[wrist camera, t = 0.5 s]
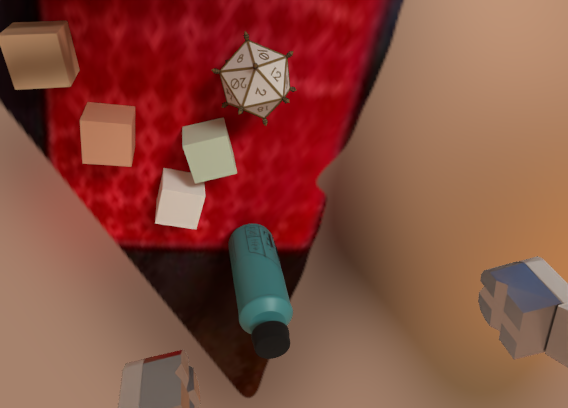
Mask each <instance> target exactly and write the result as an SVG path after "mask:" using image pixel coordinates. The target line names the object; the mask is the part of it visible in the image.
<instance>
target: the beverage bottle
mask: <svg viewBox="0 0 568 408" xmlns="http://www.w3.org/2000/svg"><path fill="white" fill-rule="evenodd" d="M229 239H230V240H229V243H228V244H229V245H228V246H229V247H228V248H229V252H228V253H229V255H230V258H229V261H230V260H231V263H230V264H231V265H230V268H232V270H231V271H232V273H231V274H233V279H232V280H233V282H234V287H235V289H234V290H235V292H236V299H237V306H238V312H239V323H240V325H241V327H242V328H243V329H244V330H245V331H246V332H248V333H250V334H251V338H252V342H253V345H254V349H255V352H256V354H257V355H258V356H260V357H262V358H267V359H271V358H276V357H279V356H281V355H283V354H284V353H286V352H287V350H288V349H289V347H290V339H289V330H288V327H287V325H288V324H289V322H290V321H291V318H292V315H293V310H292V307H291V304H290V301H289V297H288V293H287V290H286V286H285V284H286V283H285V281H284V277H283V274H282V270H281V266H280V265H281V264H280V263H279V261H280V260H279V257H278V256H277V255H278V251H277V252H276V250H277V247H276V248H275V245H276V244H275V245H274V242H275V241H273V237H272V234H271V233H270V232H269V230H268V229H267V228H265V227H264V226H262V225H259V224H247V225H243V226H241V227H239V228H237V229H236V230H235V231H234V232H233V233H232V235H231V237H230V238H229Z"/></svg>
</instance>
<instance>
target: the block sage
mask: <svg viewBox="0 0 568 408" xmlns="http://www.w3.org/2000/svg"><path fill="white" fill-rule="evenodd" d="M182 147H183V150H184V152H185V155H186V158H187V161H188V164H189V167H190V170H191V173H192V176H193V179H194V182H195V184H196V183H200V182H204V181H208V180H212V179H216V178H220V177H225V176H229V175H233V174H237V169H236V164H235V159H234V154H233V150H232V146H231V143H230V139H229V135H228V131H227V128H226V124H225V120H224V117H223V118H218V119H214V120H210V121H206V122H201V123H197V124H193V125H189V126H184V127H182Z"/></svg>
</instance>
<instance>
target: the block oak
mask: <svg viewBox="0 0 568 408" xmlns="http://www.w3.org/2000/svg"><path fill="white" fill-rule="evenodd" d="M0 46H1V49H2V52H3V55H4V58H5V61H6V64H7V67H8V70H9V73H10V76H11V79H12V82H13V85H14V88H15V90H22V89H40V88H58V87H71V85H72V83H73V82H74V80H75V78H76V76H77V74H78V73H79V71H80V69H79V65H78V61H77V57H76V53H75V49H74V45H73V41H72V37H71V33H70V29H69V25H68V21H40V22H13V23H12V24H11V25H10V26H8V27H7V28H6V29H5V30H3V31H2V32H1V33H0Z"/></svg>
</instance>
